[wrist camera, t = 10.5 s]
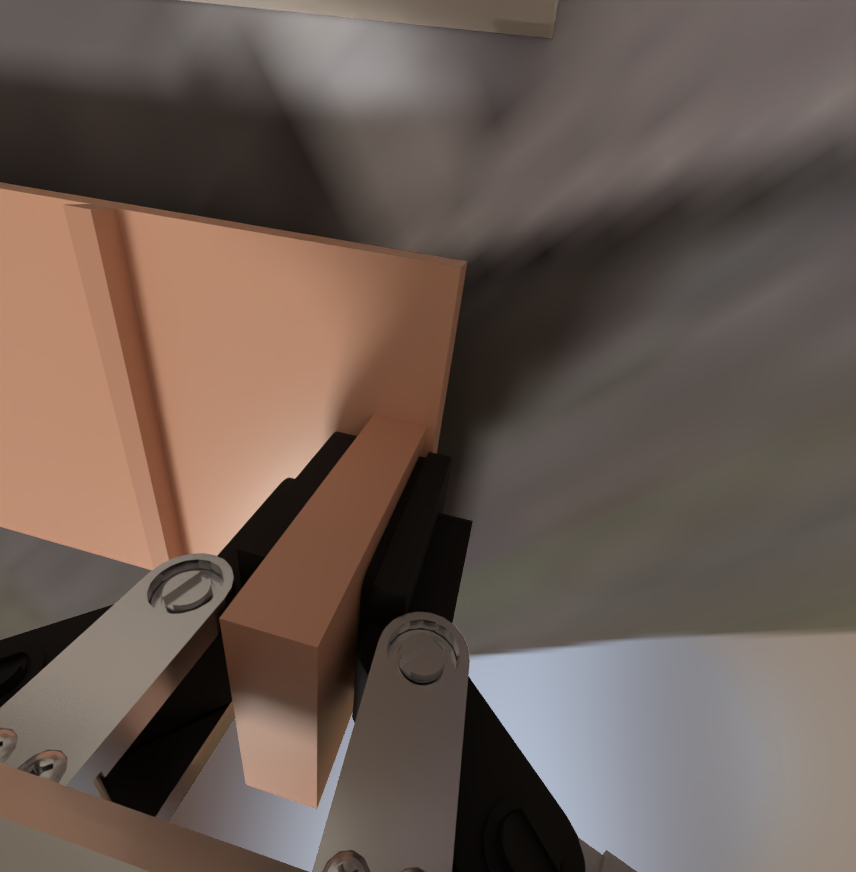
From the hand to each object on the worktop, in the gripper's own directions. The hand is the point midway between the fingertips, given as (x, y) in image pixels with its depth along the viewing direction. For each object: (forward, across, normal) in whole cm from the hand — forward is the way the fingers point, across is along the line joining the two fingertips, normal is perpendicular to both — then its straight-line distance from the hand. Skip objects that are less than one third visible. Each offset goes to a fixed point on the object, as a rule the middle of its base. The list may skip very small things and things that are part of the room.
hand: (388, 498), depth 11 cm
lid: (+1, +6, 0) cm, 7 cm away
